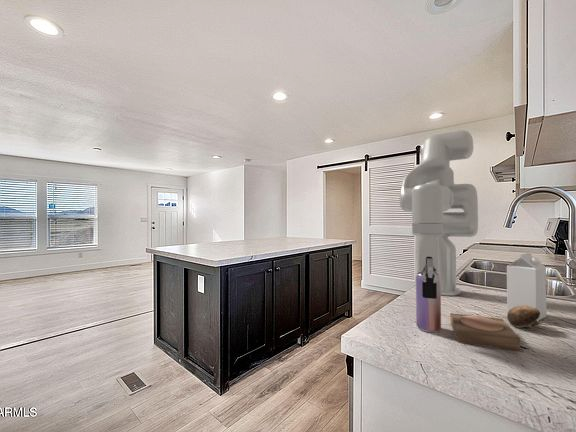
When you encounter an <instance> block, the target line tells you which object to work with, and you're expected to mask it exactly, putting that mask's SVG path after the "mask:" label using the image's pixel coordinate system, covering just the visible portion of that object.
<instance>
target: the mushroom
mask: <svg viewBox="0 0 576 432" xmlns="http://www.w3.org/2000/svg"><path fill="white" fill-rule="evenodd" d="M539 316H540V312H539V310H537V309H536V308H534V307H529V306H516V307H513V308H511V309H510V310H509V312H508V314H507V316H506V317H507V321H508V322H509V324H510V325H511V326H513V327H515V328H524V327H528V328H529V329H531V328H534V327H537V326H539V325H541V324H542V322H539V321H537V319H538V318H539Z"/></svg>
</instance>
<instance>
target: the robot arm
mask: <svg viewBox="0 0 576 432" xmlns="http://www.w3.org/2000/svg"><path fill="white" fill-rule="evenodd" d="M473 153H474V138H473V136H472V134H471V132H469V131H467V130H455V131H450V132H449V131H448V132H443V133H436V134H432V135H430V136H429V137H427V138H426V139H425V141H424V142H423V143H422V144H421V145H420V148H419V154H420V157H421V158H420V163H419V164H418V165H417V166H416V167H414V168H413V169H411V171H409V172H408V173H407V174H406V175H405V177H404V178H403V181H402V182H401V186H400V187H401V188H400V191H399V203H398V204H399V206H400V208H401V210H403V212H406V213H411V222H412V223H411V226H412V227H411V228H412V229H411V235H412V236H416V237H415V238H416V239H415V270H416V273H417V272H418V273H420V272H423V281H424V282H422V296H423V297H424V298H432V299H436V298H437V283H436V276H435V274H436V273H437V274H439V275H440V279H441V296H448V297H449V296H451V297H453V296H454V297H455V296H459V295H461V294H462V290H461V289H460V288H458V287H457V249H456V245H455V244H454V242H452V240H450V239H449V238H452V237H453V238H454V237H455V238H456V237H459V238H460V237H462V238H470V237H471V238H472V237H475V236H476V235H477V234H478V230H479V208H478V207H479V205H478V202H479V201H478V200H479V199H478V191H477V188H476V186H474V185H473V184H471V183H456V184H455V180H454V176H455V175H454V171H453V169H452V168H451V167H450V162H452V161H460V160H468V159H469V158H471V156H472V155H473ZM453 209H454V210H456V209H458V210H459V209H460V210H462V211H463V212H462V211H455V212H454V211H453V212H451V211H449V210H453ZM447 211H448V212H447ZM448 237H449V238H448Z"/></svg>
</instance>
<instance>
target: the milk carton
mask: <svg viewBox="0 0 576 432" xmlns="http://www.w3.org/2000/svg"><path fill="white" fill-rule="evenodd" d="M519 256H520V257H519V258H517V259H515V260H514V261H512V262H510V263H509V264H507V266H506V306H507V307H506V311H507V312H506V314H507V315H508V312H509V310H510V309H511V308H513V307H516V306H529V307H534V308H536V309H537V310H539V312H540V316H539V318H538V319H537V321H538V322H539V321H541V320H543V319H544V318H546V317H547V267H546V266H545V265H544V264H543V263H541V262H542V261H541V260H540V259H538V258H537V257H534V256H533V255H532V252H531V251H529V252H524V253H520V255H519Z"/></svg>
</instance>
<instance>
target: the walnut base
mask: <svg viewBox="0 0 576 432" xmlns="http://www.w3.org/2000/svg"><path fill="white" fill-rule="evenodd" d="M449 315H450V316H449V317H450V318H449V320H450V326H451V328H452V330H453V333H454V336H455V338H456V340H457V342H458V343H461V344H468V345H469V344H470V345H475V346H481V347H489V348H495V349H503V350H510V351H515V352H521V337H519V335H518V334H517V333H516V332H515V330H513V329H512V327H511V326H510V325H508V323H507V322H506V321H505V320H504V319H503V318H496V317H489V316H488V317H487V316H481V315H480V316H479V315H469V314H462V313H453V312H450V314H449Z"/></svg>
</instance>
